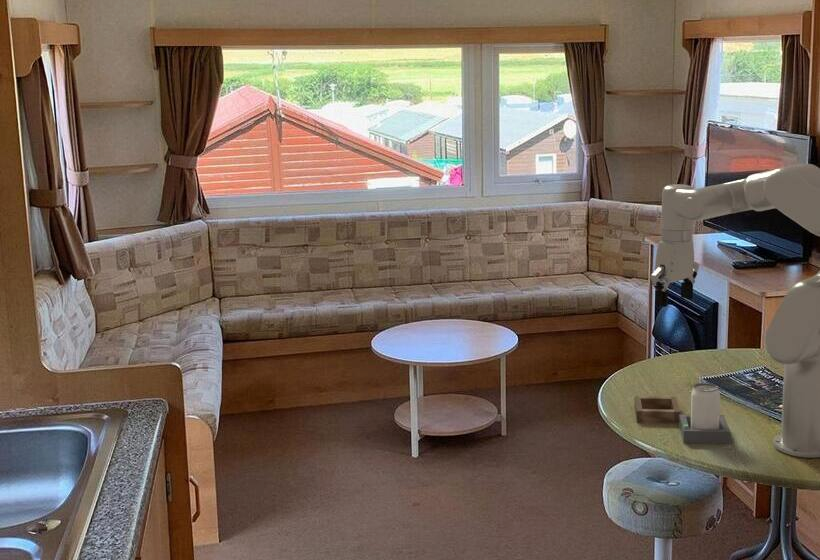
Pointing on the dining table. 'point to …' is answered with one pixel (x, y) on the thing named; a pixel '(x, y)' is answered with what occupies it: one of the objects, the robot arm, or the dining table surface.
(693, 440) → the gray square frame
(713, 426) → the can
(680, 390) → the dining table surface
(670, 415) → the brown square frame
